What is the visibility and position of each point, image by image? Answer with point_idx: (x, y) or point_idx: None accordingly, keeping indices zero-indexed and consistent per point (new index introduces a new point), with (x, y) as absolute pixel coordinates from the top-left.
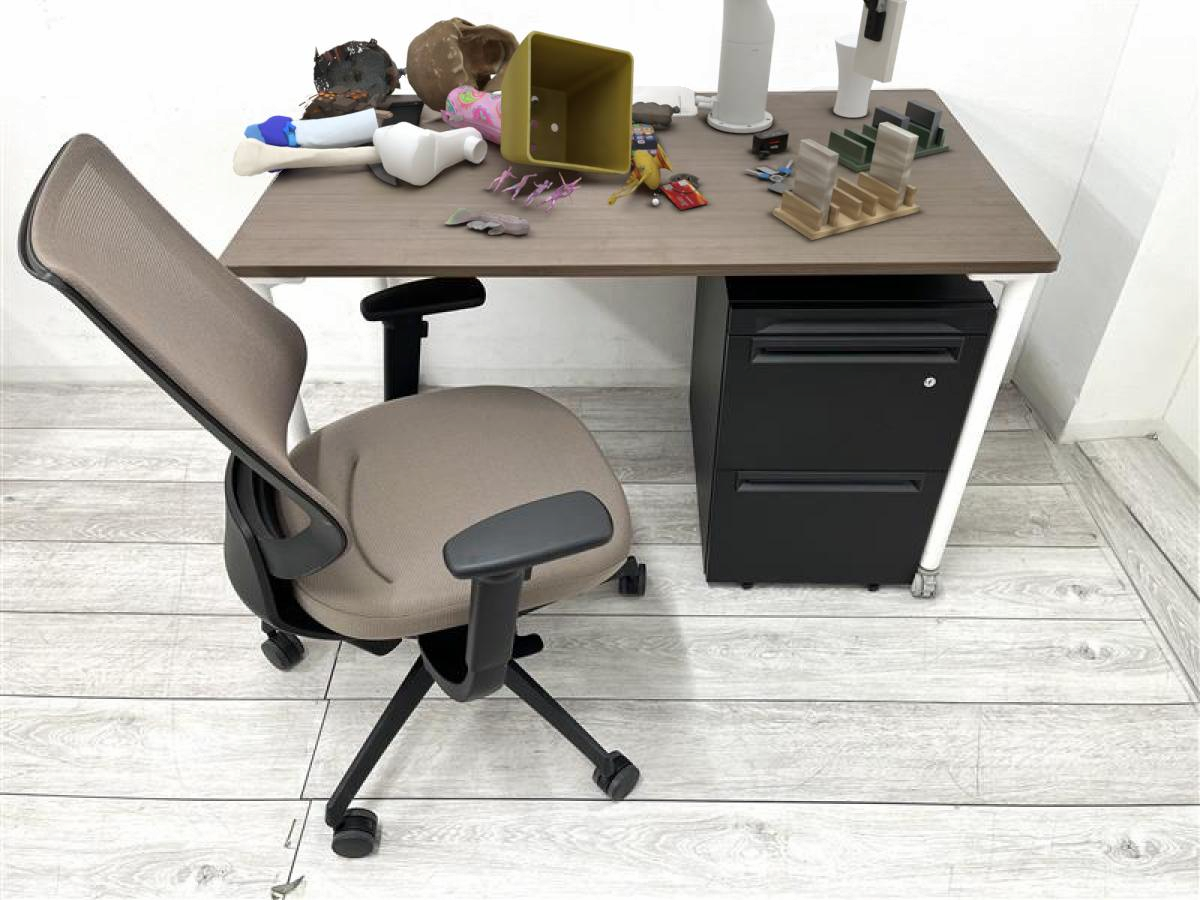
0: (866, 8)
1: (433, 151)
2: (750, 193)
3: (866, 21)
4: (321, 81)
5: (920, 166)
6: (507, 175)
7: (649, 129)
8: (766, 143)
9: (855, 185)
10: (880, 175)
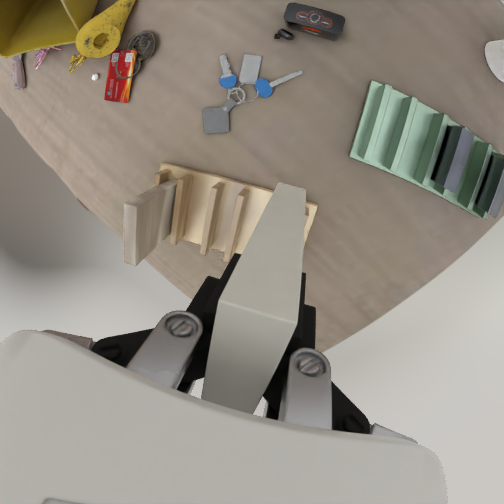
0: (178, 313)
1: None
2: (184, 103)
3: (221, 278)
4: None
5: (419, 211)
6: None
7: None
8: (295, 25)
9: (234, 225)
10: None
